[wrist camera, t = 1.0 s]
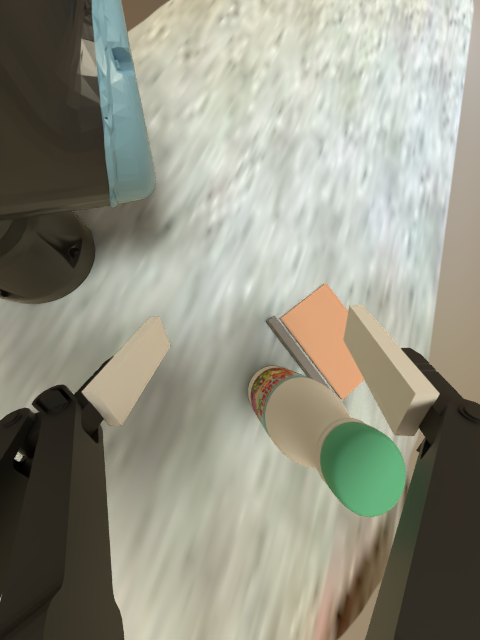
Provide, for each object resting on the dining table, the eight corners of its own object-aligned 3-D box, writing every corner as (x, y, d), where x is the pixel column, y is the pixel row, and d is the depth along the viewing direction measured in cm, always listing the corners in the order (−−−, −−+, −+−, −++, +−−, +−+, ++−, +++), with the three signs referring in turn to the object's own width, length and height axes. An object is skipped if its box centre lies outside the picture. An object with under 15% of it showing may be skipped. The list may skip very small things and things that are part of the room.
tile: (279, 318, 32) (281, 318, 32) (324, 284, 34) (326, 283, 33) (340, 398, 32) (342, 399, 31) (382, 359, 34) (385, 359, 33)
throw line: (266, 321, 32) (268, 320, 30) (271, 317, 32) (274, 315, 31) (334, 412, 32) (340, 415, 30) (340, 407, 32) (346, 410, 30)
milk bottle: (303, 377, 32) (449, 434, 12) (284, 425, 30) (411, 576, 11) (259, 357, 31) (336, 380, 11) (238, 404, 30) (284, 522, 10)
